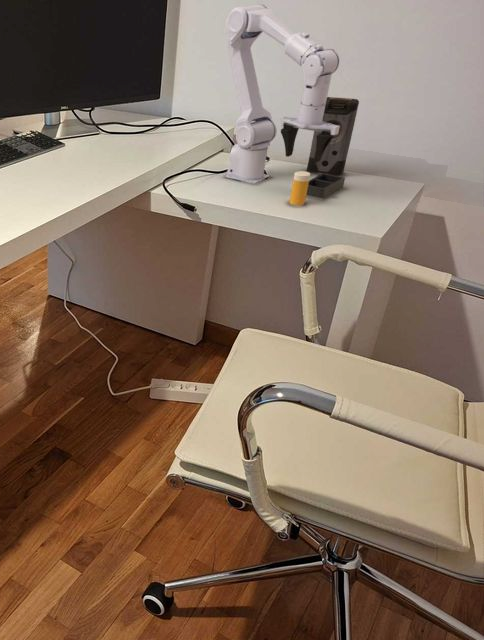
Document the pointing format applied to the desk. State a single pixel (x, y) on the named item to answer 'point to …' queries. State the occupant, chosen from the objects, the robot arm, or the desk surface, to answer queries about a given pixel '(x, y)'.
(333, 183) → the organizer
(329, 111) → the electronic device
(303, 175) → the pill bottle
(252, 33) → the robot arm
